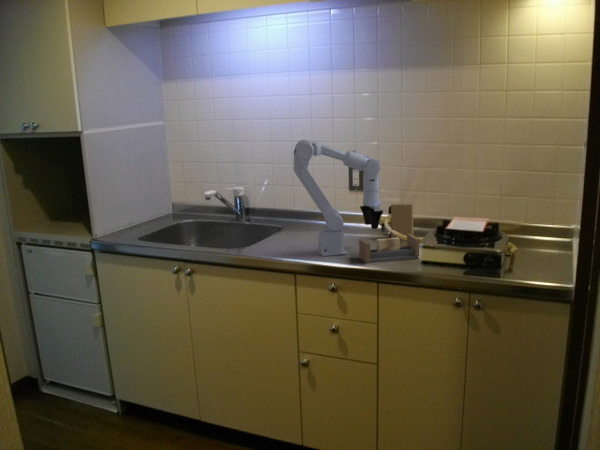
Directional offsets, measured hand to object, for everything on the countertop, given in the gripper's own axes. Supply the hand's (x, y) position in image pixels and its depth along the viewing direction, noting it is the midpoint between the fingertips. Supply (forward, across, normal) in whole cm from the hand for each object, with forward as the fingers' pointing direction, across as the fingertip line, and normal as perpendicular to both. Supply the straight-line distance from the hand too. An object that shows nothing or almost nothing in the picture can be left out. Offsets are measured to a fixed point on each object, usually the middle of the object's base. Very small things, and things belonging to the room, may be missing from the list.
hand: (371, 226), depth 214 cm
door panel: (+8, -11, -3) cm, 14 cm away
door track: (+9, -11, -3) cm, 15 cm away
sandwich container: (+10, +18, -20) cm, 28 cm away
